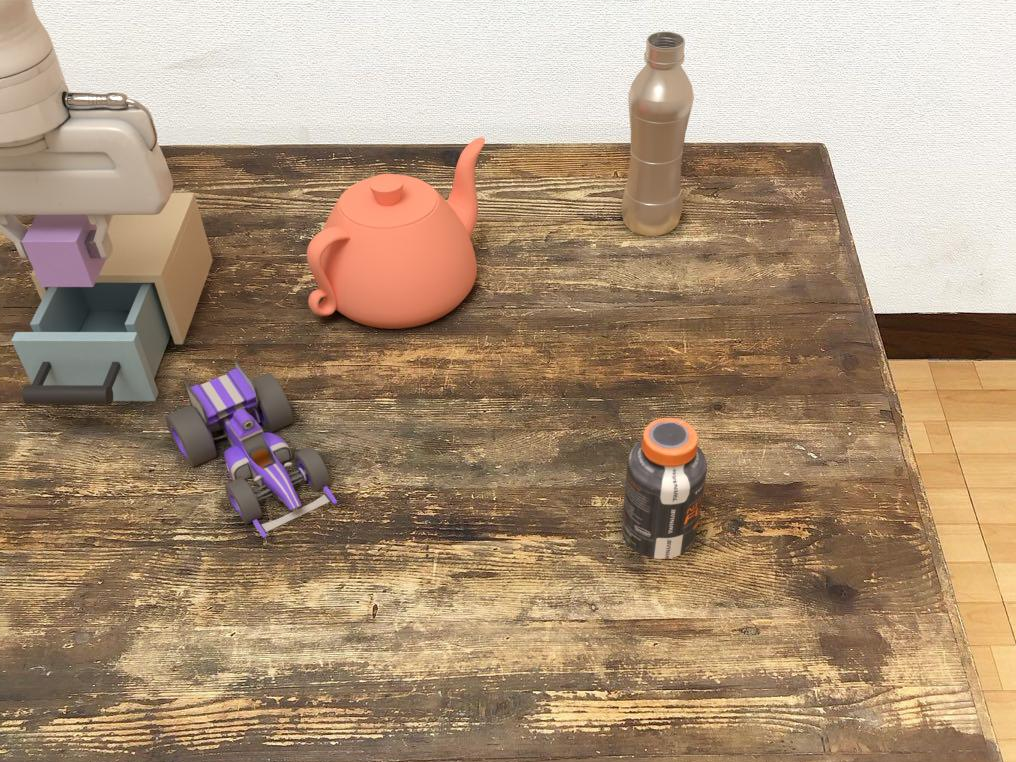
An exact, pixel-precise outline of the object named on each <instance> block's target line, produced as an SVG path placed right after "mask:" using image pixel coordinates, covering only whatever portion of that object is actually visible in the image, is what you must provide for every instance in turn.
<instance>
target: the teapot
mask: <svg viewBox="0 0 1016 762" xmlns="http://www.w3.org/2000/svg"><path fill="white" fill-rule="evenodd" d="M485 143H486V138H485V137H483V136H481V137H476V138H475V139H473V140H472V141H471V142H469V143H468V144H467V145H466V146H465V148H464V149H463V150H462V152H461V153H460V155H459V157H458V160H457V162H456V163H457V164H456V166H455V167H456V168H455V172H454V177H453V183H452V187H451V191H450V194H449V197H448V198H447V200H446V199H445V198H444V197H443V196H442V195H441V194H440V193H439V192H438V190H436V189H435V188H434V187H433V186H432V185H431V184H429V183H428V182H426V181H424V180H422V179H420V178H417V177H414V176H411V175H406V174H405V175H403V174H395V173H381V174H378V175H375V176H372V177H368V178H365V179H362V180H360V181H357V182H355V183H354V184H352V185H351V186H350V187H348V188H347V189H346V190H345V191H344V192H343V193H342V194H341V195H340V196H339V198H338V199H337V201H336V202H335V204H334V206H333V208H332V209H331V211H330V213H329V216H328V217H327V219H326V221H325V224H324V226H323V229H321V231H319V232H318V233H316V234H315V235H314V236H313V238H312V239H311V240H310V242H309V243H308V245H307V248H306V249H307V250H306V259H307V260H306V262H307V265H308V267H309V270H310V272H311V274H312V276H313V279H314V280H315V282H316V284H317V287H318V288H317V289H315V290H313V291H312V292H311V293H310V294H309V296H308V300H307V301H308V308H309V309H310V311H311V312H312V313H313V314H314V315H316V316H320V317H328V316H331V315H333V314H334V313H335V312H338V313H340V314H341V315H343V316H344V317H346V318H347V319H349V320H351V321H353V322H355V323H357V324H361V325H364V326H367V327H371V328H375V329H376V328H377V329H385V330H386V329H387V330H397V329H398V330H399V329H409V328H415V327H419V326H423V325H427V324H429V323H432V322H435V321H437V320H439V319H441V318H443V317H444V316H446V315H448V314H449V313H451V312H452V311H453V310H454V309H456V308H457V307H458V306H459V305H460V304H461V303H462V302H463V301H464V300H465V298H466V297H467V296H468V295H469V293H470V292H471V291H472V288H473V287H474V285H475V282H476V279H477V274H478V265H477V257H476V253H475V249H474V246H473V243H472V240H471V237H472V235H473V233H474V232H475V231H474V230H475V228H476V226H477V222H478V216H479V201H478V193H477V186H476V164H477V161H478V157H479V155H480V154H481V151H482V149H483V147H484V145H485ZM321 299H322V301H321ZM320 301H321V302H320Z"/></svg>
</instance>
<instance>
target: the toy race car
mask: <svg viewBox="0 0 1016 762" xmlns="http://www.w3.org/2000/svg"><path fill="white" fill-rule="evenodd" d="M234 365H235V368H234V369H232V370H229V371H227V372H226V373H225V374H223V375H220V376H218V377H216V378H213V379H211V380H209V381H205V382H204V383H201V384H199V383H197V384H194V385H193V386H190V385H189V384H188V383H187V381H186V380H183V383H182V384H183V385H184V389H185V391H186V395H187V397H188V401H189V403H190V404H189V405H187V406H185V407H182V408H180V409H177V410H176V411H172V412H170V413H168V414H166V415H165V422H166V426H167V429H168V432H169V434H170V436H171V439H172V441H173V443H174V445H175V447H176V448H177V449H178V450H179V452H181V453H182V454H183V456H184V457H185V460H186V462H187V464H188V465H189V466H190V467H191V468H195V467H197V466H199V465H201V464H204V463H206V462H208V461H211V460H213V459H215V458H217V456H218V453H217V448H216V444H215V441H217V440H220V439H221V440H222V439H224V438H225V439H227V441H228V442H229V444H230V447H228V448H227V449H226V450H225V452H224V453H223V454H224V455H223V456H224V457H223V458H224V461H225V465H226V468H227V471H228V474H229V476H230V478H231V480H232V481H230V482H227V483H225V485H224V489H225V493H226V496H227V499H228V501H229V503H230V505H231V507H233V509H234V510H235V511H236V512H239V516H240V517H241V520H242V522H243V524H244V525H246V526H247V525H249V524H252V525H253V526H254V527H255V529H256V531H258V533H259V535H260V536H261V537H262V538H263V539H266V538H267V537H268V534H267V532H269V531H272V530H274V529H275V528H278V527H280V526H282V525H285V524H286V523H289V522H291V521H293V520H295V519H297V518H299V517H301V516H303V515H305V514H307V513H309V512H311V511H314V510H316V509H318V508H320V507H322V506H324V505H326V504H329V503H332V504H333V505H337V504H339V503H338V500H337V499H336V497H335V496H334V494H333V493H332V492H331V490H330V489H329V487H331V477H330V474H329V471H328V468H327V466H326V464H325V462H324V460H323V458H322V457H321V455H320V453H319V452H318V451H317V450H316V449H315V448H314V447H313V446H311V445H310V446H307V447H304V448H302V449H300V450H298V451H296V452H294V454H293V455H292V450H291V447H290V446H289V444H288V443H287V441H285V440H284V439H283V437H281V436H279V435H277V434H276V433H274V432H277V431H279V430H282V429H284V428H286V427H288V426H290V425H292V424H293V423H294V415H293V410H292V407H291V404H290V401H289V399H288V397H287V395H286V392H285V391H284V388H283V387H282V385H281V383H280V382H279V381H278V380H277V378H276V377H275V376H274V375H273V374H271V373H270V372H267V373H266V372H265V373H264V374H261V375H259V376H257V377H254V378H251V376H250V375H249V374H248V373H247V371H246V370H245V369H244V368H243V366H242V365H241V364H240V363H239V361H237V360H234ZM260 423H261V424H262V426H263V428H264V429H265V431H266V432H264V430H263V428H262V426H261V425H260ZM217 431H222V432H223V435H220V436H216V437H213V434H212V433H215V432H217ZM293 459H294V464H295V467H296V471H293V472H290V473H288V471H287V469H288V468H289V467H291V466H293V463H292V462H291V461H292V460H293ZM288 461H290V462H288ZM252 478H253V482H255V483H257V484H258V486H259V487H258V488H256V489H255V490H253V489H252V487H251V485H250V484H249V483H248V481H247V479H252ZM296 480H297V481H296ZM293 481H295V482H293ZM302 481H304V482H306V481H307V482H308V486H309V487H310V489H311V491H312V492H314V493H318V492H319V491H320V492H321V491H322V492H323V494H322V495H321V496H320V497H318V498H316V499H315V500H313V501H312V502H309V503H308V504H306V505H304V506H303V505H302V502H301V500H300V498H299V496H298V494H297V491H296V489H295V487H294V485H296V484H298V483H300V482H302ZM262 489H264V490H262ZM260 490H261V491H260ZM267 493H268V494H267ZM266 494H267V495H266ZM269 497H272V498H274V499H275V500H276V501H277V502H278V503H283V504H284V505H285V507H286V508H287V509H288V510H289V511H290V512H289V513H287V514H285V515H282V516H281V517H278V518H276V519H274V520H271V521H268V522H265V523H262V524H261V523H260V522H259V520H261V519H262V518H263V511H262V507H261V504H260V502H259V501H261V500H264V499H266V498H269Z"/></svg>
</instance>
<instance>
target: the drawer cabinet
mask: <svg viewBox="0 0 1016 762" xmlns="http://www.w3.org/2000/svg"><path fill="white" fill-rule="evenodd" d="M96 226H98V224H96ZM108 234H109V237H110V240H111V243H112V247H113V250H112V253H111V255H110V257H109V258H107V259H106V261H105V263H104V265H103V267H102V270H101V272H100V274H99V276H98V278H97V280H96V282H95V283H155V286H156V289H157V292H158V295H159V298H160V301H161V304H162V307H163V310H164V313H165V316H166V319H167V322H168V325H169V328H170V331H171V337H172V341H173V343H174V345H183V344H184V342H185V339H186V337H187V334H188V331H189V329H190V325H191V323H192V320H193V318H194V314H195V312H196V309H197V306H198V303H199V300H200V297H201V295H202V292H203V289H204V286H205V284H206V280H207V278H208V275H209V273H210V270H211V267H212V265H213V261H214V259H213V255H212V252H211V249H210V245H209V241H208V238H207V234H206V231H205V227H204V224H203V220H202V216H201V213H200V208H199V205H198V201H197V198H196V193H195V192H172V193H171V196H170V198H169V200H168V202H167V204H166V206H165V207H164V208H163V210H162V211H161V212H160V213H159V214H157V215H113V217H112V220H111V223H110V227H109V230H108ZM30 277H31V280H32V282H33V284H34V287H35V289H36V291H37V293H38V296H39V298H40V300H41V301H42V299H43V298H44V296H45V294H46V292H47V290H48V288H49V287H41V286H40V283H39V281H38V279H37V276H36V274H35V272H34V269H32V272H31V273H30Z"/></svg>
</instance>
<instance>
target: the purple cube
mask: <svg viewBox="0 0 1016 762" xmlns="http://www.w3.org/2000/svg"><path fill="white" fill-rule="evenodd" d="M27 229H28V231H27V233H26V235H25V236H24V238H23V240H22V244H23V246H24V248H25V251H26V253H27V255H28V258H29V259H28V258H27V259H28V260H29V263H30V265H31V267H32V270H34V272H35V274H36V276H37V279H38V281H39V283H40V286H41V287H94V285H95V282H96V280H97V278H98V276H99V274H100V272H101V270H102V267H103V265H104V263H105V261H106V259H107V258H91V257H90V256H89V251H88V250H87V248H86V245H85V243H84V242H85V240H86V238H87V237H88V234H89V232H90V230H97V226H96V225H92V224H90V222H89V219H88V217H87V215H35V217H34V219H33V221H32V222H31V224H30V226H29V228H27Z"/></svg>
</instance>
